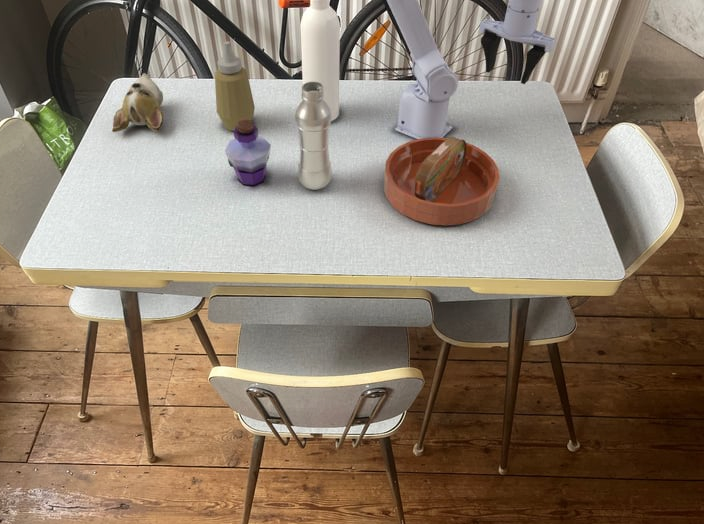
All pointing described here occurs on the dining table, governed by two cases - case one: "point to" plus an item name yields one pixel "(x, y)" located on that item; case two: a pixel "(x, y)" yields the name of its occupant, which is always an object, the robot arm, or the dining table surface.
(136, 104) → the ceramic sculpture
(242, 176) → the potion bottle
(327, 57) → the bottle
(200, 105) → the dining table surface
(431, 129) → the robot arm
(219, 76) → the squeeze bottle
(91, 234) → the dining table surface
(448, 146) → the tin
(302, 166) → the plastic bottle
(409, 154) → the bowl
